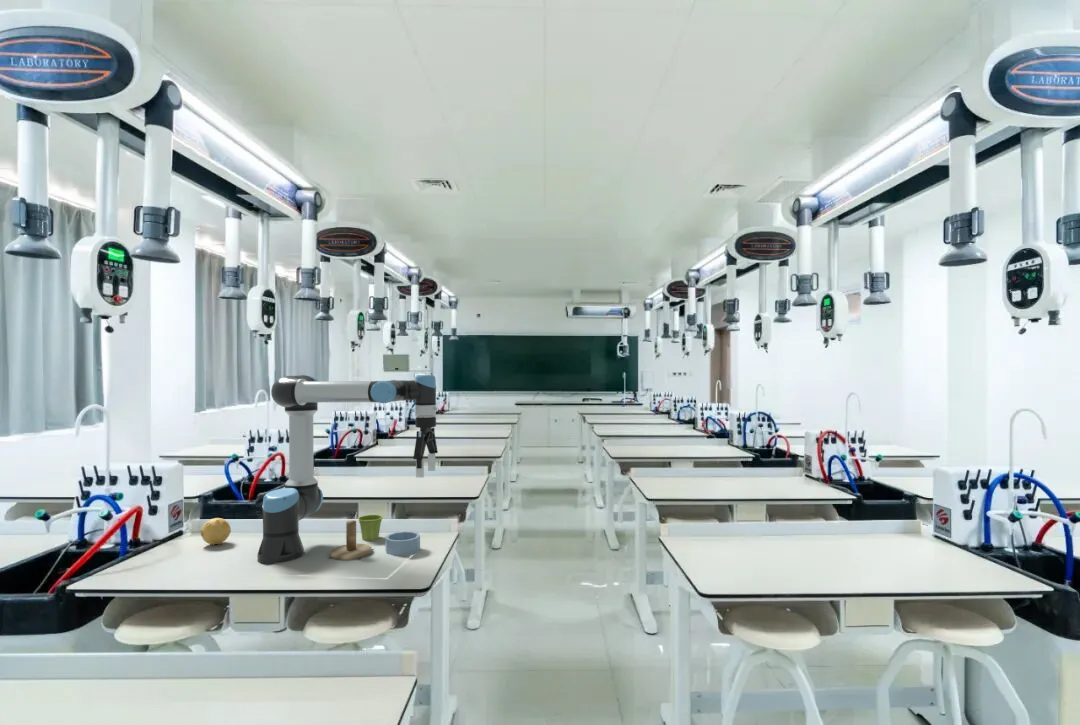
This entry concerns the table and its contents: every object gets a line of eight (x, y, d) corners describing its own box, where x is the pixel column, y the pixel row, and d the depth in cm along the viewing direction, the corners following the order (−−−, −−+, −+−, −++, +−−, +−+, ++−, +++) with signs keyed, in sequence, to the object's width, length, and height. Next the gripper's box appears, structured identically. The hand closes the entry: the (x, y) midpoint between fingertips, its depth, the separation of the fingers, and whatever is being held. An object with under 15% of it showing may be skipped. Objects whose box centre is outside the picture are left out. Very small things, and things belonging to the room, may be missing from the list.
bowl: (380, 555, 206) (380, 540, 206) (393, 545, 218) (393, 531, 218) (413, 557, 205) (413, 541, 205) (423, 546, 217) (423, 532, 217)
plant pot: (364, 535, 232) (364, 514, 232) (386, 536, 230) (386, 514, 231) (353, 542, 222) (353, 520, 223) (376, 543, 221) (376, 520, 221)
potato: (210, 543, 225) (190, 532, 219) (228, 521, 230) (209, 509, 223) (222, 552, 220) (202, 541, 213) (240, 529, 224) (221, 517, 217)
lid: (323, 559, 201) (323, 526, 202) (341, 547, 215) (341, 516, 215) (361, 560, 200) (361, 527, 200) (377, 548, 214) (377, 517, 214)
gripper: (424, 419, 201) (425, 480, 200) (445, 413, 225) (445, 468, 225) (404, 419, 201) (404, 480, 201) (426, 413, 226) (426, 468, 226)
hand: (426, 474), depth 213 cm, fingers open, 13 cm apart
